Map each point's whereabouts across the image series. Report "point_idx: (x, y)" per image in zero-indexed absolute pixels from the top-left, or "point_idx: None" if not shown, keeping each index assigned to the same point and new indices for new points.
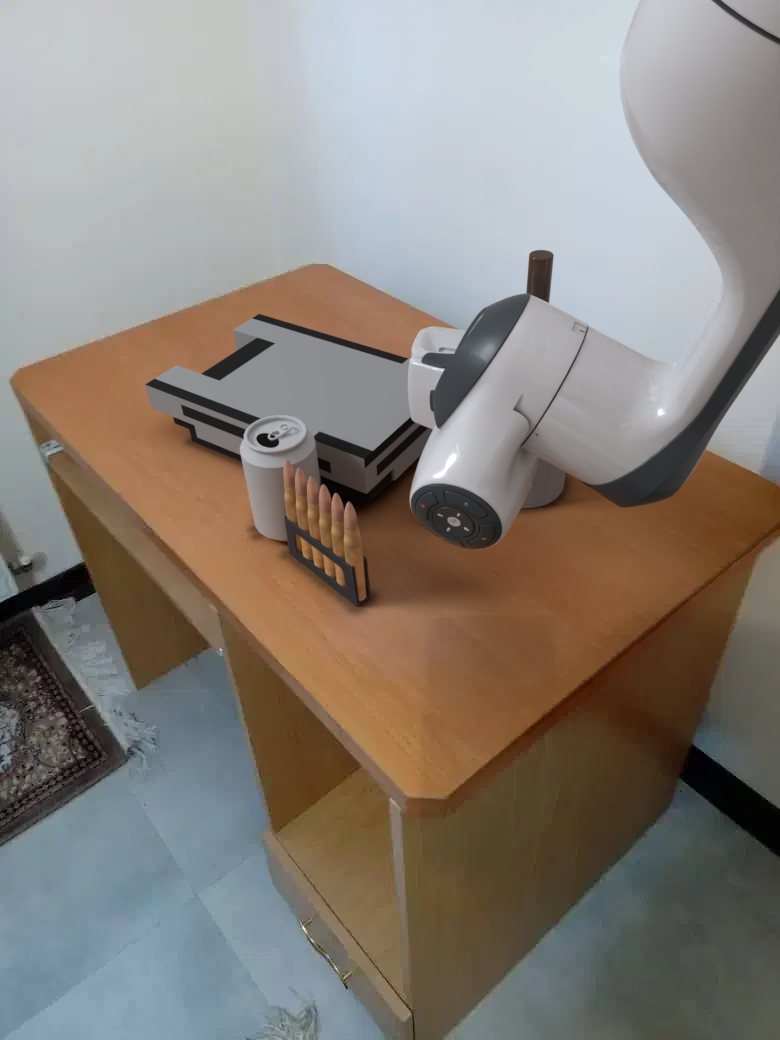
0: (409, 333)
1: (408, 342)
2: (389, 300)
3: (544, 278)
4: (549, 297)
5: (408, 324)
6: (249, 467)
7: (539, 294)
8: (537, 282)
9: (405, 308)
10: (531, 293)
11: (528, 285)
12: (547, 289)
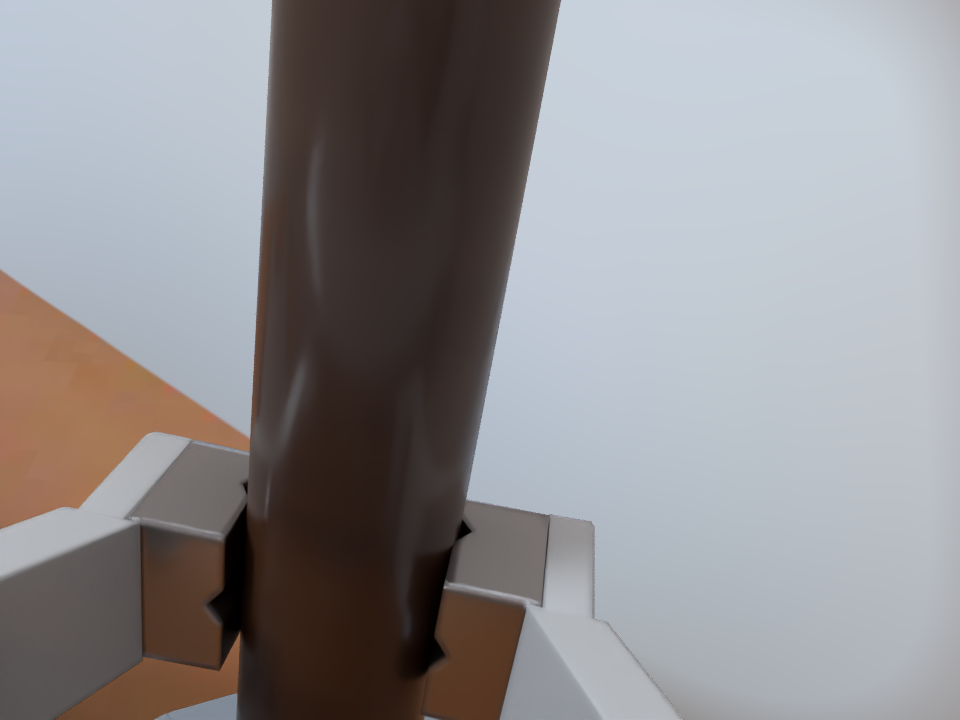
0: (27, 375)
1: (10, 402)
2: (17, 285)
3: None
4: (512, 250)
5: (37, 350)
6: None
7: (410, 188)
8: (391, 16)
9: (50, 308)
10: (312, 169)
11: (279, 70)
12: (508, 142)
